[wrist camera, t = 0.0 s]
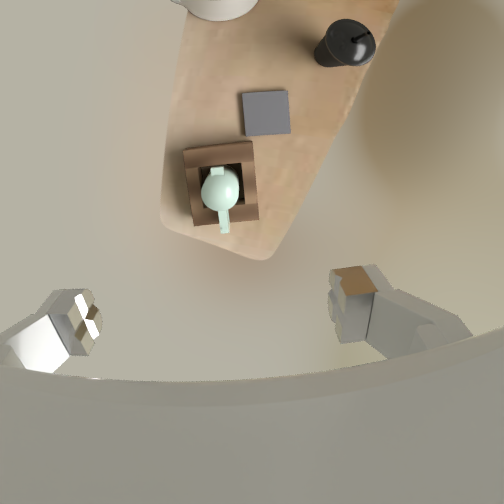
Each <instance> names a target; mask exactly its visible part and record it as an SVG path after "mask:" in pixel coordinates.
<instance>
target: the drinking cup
mask: <svg viewBox="0 0 504 504" xmlns="http://www.w3.org/2000/svg"><path fill="white" fill-rule="evenodd" d="M375 50H376V44H375V40H374V37H373V35H372V33H371V32H370V31H369V30H368V28H367V27H365V26H364V25H363V24H361V23H360V22H357V21H355V20H351V19H341V20H338V21H335V22H334V23H332V24H331V25H330V26H329V28H328V29H327V31H326V35H325V36H324V38H323V39H322V40H321V42H320V43H319V45H318V46H317V48H316V49H315V52H314V56H315V59H316V61H317V62H318V63H319V64H320V65H322V66H324V67H336V66H346V65H349V66H361V65H364V64H366V63H368V62H369V61H370V60H371V59H372V58H373V56H374V54H375Z"/></svg>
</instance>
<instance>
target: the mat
mask: <svg viewBox="0 0 504 504" xmlns="http://www.w3.org/2000/svg"><path fill="white" fill-rule="evenodd" d="M242 99H243V110H244V121H245V132H246V137H247V136H259V135H273V134H290V133H291V130H290V116H289V102H288V91H268V92H253V93H242Z"/></svg>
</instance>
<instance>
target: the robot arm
mask: <svg viewBox="0 0 504 504" xmlns="http://www.w3.org/2000/svg"><path fill="white" fill-rule="evenodd" d="M171 1H172V2H174V3H177V4H180V5H183V6H184V7H186V8H187V9H188V10H189V11H190V12H191V13H192V14H194V15H195V16H197V17H199V18H202V19H205V20H210V21H226V20H231V19H234V18H237V17H240V16H242V15H244V14H245V13H247V12H248V11H250V10H251V9H252V8H253V7H254V6H255V4H256V3H257V2H258V0H171ZM329 283H330V285H331V288H332V289H331V290H330V291H329V293H328V310H329V314H330V318H331V320H332V321H333V322H334V323H336V325H335V331H336V334H337V336H338V339H339V342H340V344H343V343H351V342H359V341H366V342H367V343H368V344H369V345H371V346H372V347H373V348H375V349H376V350H377V351H379V352H380V353H381V354H382V355H384V356H385V357H386V358H388V359H387V360H383V361H378V362H373V363H367V364H362V365H358V366H352V367H346V368H340V369H334V370H327V371H320V372H314V373H305V374H297V375H289V376H279V377H269V378H257V379H243V380H227V381H226V380H225V381H201V382H200V381H199V382H197V381H196V382H156V381H129V380H112V379H99V378H89V377H79V376H69V375H62V374H55V373H53V372H54V371H55V370H56V369H57V368H58V367H59V366H60V365H61V364H62V363H63V362H64V361H65V360H67V359H68V358H69V357H70V355H75V356H76V355H77V356H89V354H90V352H91V349H92V348H93V346H94V343H95V342H94V338H95V337H97V336H98V335H99V334H100V331H101V329H102V317H101V313H100V311H99V309H98V308H97V307H96V306H95V305H94V304H93V303H94V296H93V294H92V292H91V291H90V290H89V289H59V290H54V291H53V292H52V293H51V294H50V296H49V297H48V298H47V299H46V301H45V302H44V303H43V304H42V306H41V307H40V308H39V309H38V311H37V312H36V313H35V314H31V315H30V316H28V317H27V318H25V319H23V320H22V321H20V322H18V323H17V324H15V325H13V326H12V327H10V328H9V329H7V330H6V331H4V332H2V333H1V334H0V504H504V326H502V327H499V328H496V329H493V330H491V331H488V332H485V333H482V334H479V335H476V336H473V334H472V333H471V332H470V331H469V329H468V328H467V327H466V326H465V324H464V323H463V322H462V320H461V319H460V318H459V317H458V316H457V315H455V314H453V313H451V312H449V311H446V310H444V309H442V308H440V307H438V306H435V305H433V304H431V303H429V302H427V301H424V300H422V299H420V298H418V297H415V296H413V295H411V294H409V293H407V292H404V291H402V290H400V289H394V288H393V287H392V285H391V284H390V283H389V281H388V280H387V279H386V277H385V276H384V275H383V273H382V272H381V271H380V269H379V268H378V267H377V265H375V264H369V265H362V266H355V267H348V268H341V269H333V270H330V274H329Z"/></svg>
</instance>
